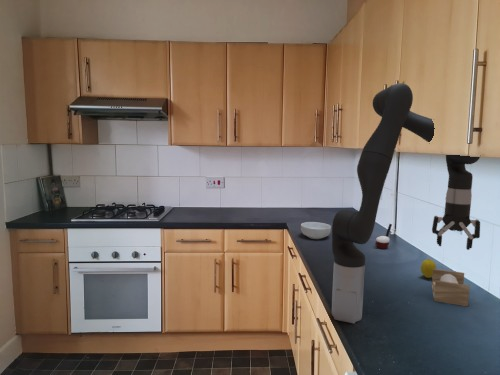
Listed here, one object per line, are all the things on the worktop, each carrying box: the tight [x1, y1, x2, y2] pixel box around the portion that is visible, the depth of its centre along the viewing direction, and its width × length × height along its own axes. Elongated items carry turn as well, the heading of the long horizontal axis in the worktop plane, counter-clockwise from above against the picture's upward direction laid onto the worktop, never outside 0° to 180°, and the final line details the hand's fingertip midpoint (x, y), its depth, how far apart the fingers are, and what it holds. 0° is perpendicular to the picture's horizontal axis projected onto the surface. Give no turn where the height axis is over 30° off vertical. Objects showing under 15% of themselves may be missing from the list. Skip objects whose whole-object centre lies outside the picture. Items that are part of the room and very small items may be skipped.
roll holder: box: [431, 268, 471, 307], centre depth 127 cm, size 13×10×7 cm
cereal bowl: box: [300, 221, 332, 240], centre depth 200 cm, size 17×17×7 cm
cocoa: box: [374, 223, 393, 250], centre depth 182 cm, size 10×6×12 cm, turn 92°
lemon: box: [420, 258, 437, 279], centre depth 143 cm, size 6×6×8 cm
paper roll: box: [440, 274, 458, 284], centre depth 127 cm, size 9×6×6 cm
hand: (453, 247), depth 125 cm, fingers open, 8 cm apart
